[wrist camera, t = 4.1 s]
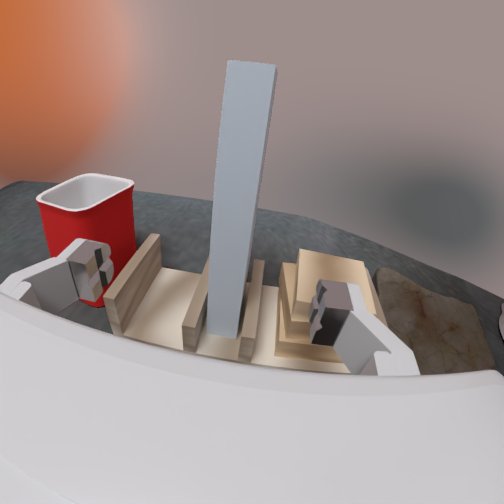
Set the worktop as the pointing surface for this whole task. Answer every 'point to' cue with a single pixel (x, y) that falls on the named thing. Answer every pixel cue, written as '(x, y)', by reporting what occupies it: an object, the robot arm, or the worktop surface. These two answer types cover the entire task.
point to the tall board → (237, 188)
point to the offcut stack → (299, 299)
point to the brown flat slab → (433, 326)
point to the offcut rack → (200, 313)
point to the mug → (91, 218)
